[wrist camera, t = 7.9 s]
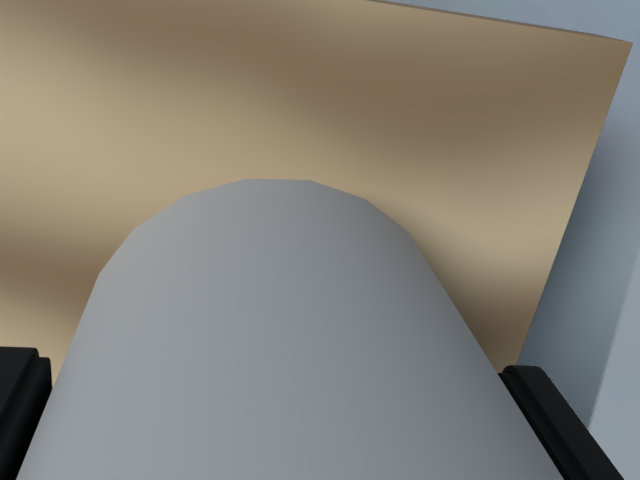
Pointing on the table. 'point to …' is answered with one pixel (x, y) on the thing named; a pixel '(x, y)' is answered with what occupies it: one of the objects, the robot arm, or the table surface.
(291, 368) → the can
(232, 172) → the stool
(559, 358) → the table surface
